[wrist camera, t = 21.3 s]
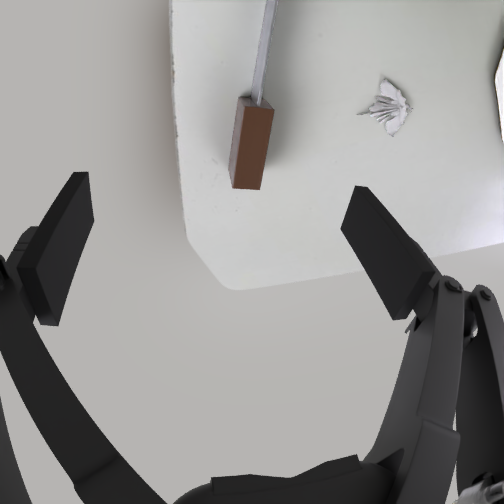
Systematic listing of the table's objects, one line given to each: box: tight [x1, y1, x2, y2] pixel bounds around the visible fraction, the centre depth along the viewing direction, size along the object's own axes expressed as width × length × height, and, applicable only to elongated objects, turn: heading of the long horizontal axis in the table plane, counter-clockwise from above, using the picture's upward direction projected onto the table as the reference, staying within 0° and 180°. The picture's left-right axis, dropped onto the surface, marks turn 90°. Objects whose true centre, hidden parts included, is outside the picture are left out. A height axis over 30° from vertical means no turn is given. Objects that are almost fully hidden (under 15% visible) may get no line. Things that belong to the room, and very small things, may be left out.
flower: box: [357, 79, 413, 137], centre depth 34 cm, size 8×8×3 cm
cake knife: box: [229, 0, 279, 190], centre depth 28 cm, size 26×3×5 cm, turn 171°
